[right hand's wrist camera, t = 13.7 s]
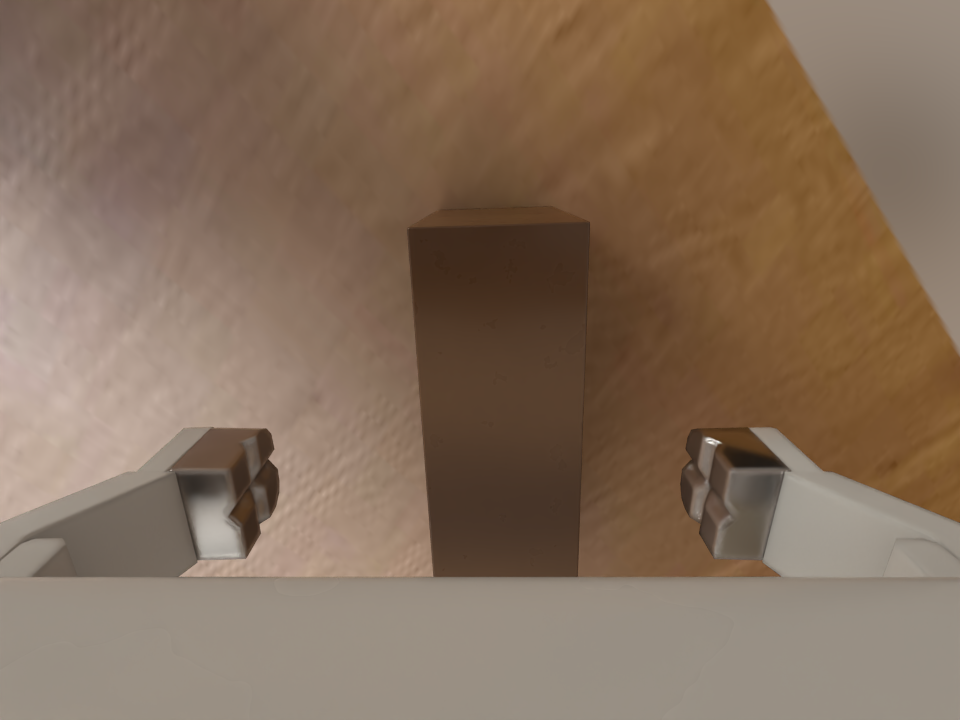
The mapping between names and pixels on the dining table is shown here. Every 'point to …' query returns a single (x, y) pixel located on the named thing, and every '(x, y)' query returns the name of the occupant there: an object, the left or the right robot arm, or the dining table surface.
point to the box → (501, 386)
